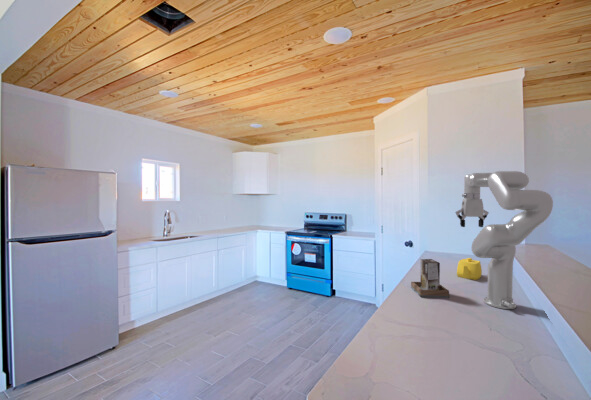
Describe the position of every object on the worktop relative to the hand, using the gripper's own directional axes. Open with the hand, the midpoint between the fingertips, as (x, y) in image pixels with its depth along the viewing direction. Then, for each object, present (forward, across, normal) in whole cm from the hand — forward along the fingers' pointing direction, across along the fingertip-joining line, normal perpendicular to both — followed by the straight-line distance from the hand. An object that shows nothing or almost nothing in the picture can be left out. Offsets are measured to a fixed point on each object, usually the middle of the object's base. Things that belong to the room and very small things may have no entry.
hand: (471, 226), depth 155 cm
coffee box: (+34, -27, -10) cm, 44 cm away
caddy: (+34, -27, -10) cm, 45 cm away
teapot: (+35, +10, +21) cm, 42 cm away
